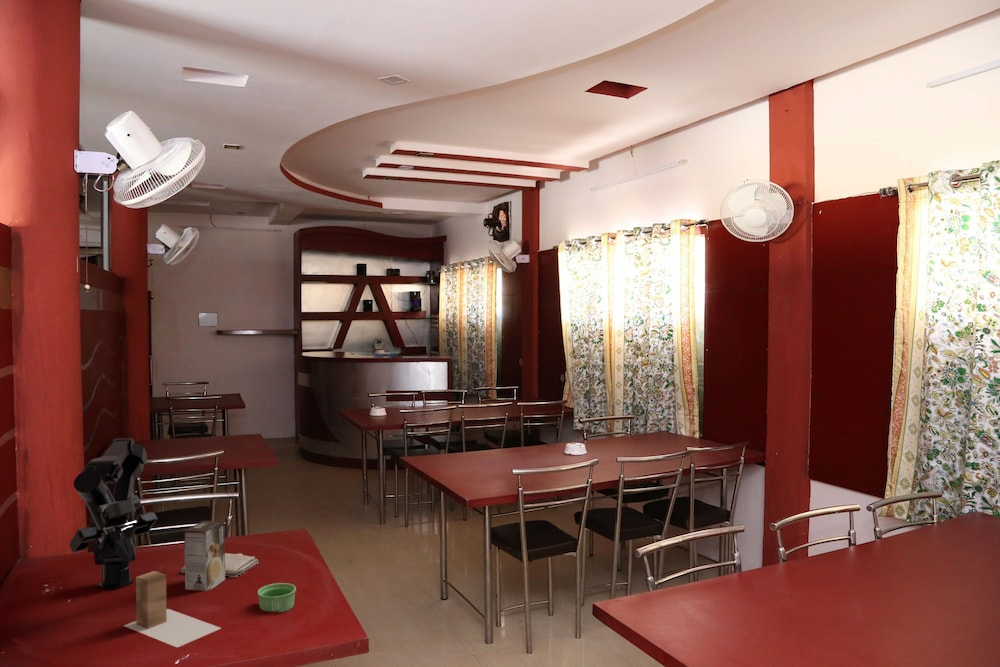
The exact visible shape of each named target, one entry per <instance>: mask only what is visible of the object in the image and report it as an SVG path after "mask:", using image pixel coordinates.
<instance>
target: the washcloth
mask: <svg viewBox="0 0 1000 667" xmlns="http://www.w3.org/2000/svg"><path fill="white" fill-rule="evenodd" d="M256 564H257V565H259V559H257V558H256V557H255V555H254V556H250V555H249V556H248V555H245V554H244V555H243V553H226V552H225V576H229V577H228V578H233V577H237V578H238V577H239V576H238V575H240V576H242V575H241V574H242V573H244V572H245V571H246V570H248V569H250V568H251V567H253V566H254V565H256ZM257 565H256V566H257ZM253 568H254V567H253ZM250 570H251V569H250ZM182 573H185V565H184V566H183V567H181V569H180V574H182ZM244 574H245V573H244Z"/></svg>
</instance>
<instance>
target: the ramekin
mask: <svg viewBox="0 0 1000 667" xmlns="http://www.w3.org/2000/svg"><path fill="white" fill-rule="evenodd" d="M296 592H297V588H296V585H295V584H292V583H289V582H288V583H286V582H277V583H271V584H268V585H265V586H264V585H263V586H262V587H261V588H259V589H258V590H257V596H258V603H259V604H258V606H259V609H260V610H261V611H263V612H278V614H281V613H284V611H285V612H287V611H290V610H291V609H292V608H293V607H294V605H295V597H296ZM280 612H281V613H280Z"/></svg>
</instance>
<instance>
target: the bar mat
mask: <svg viewBox="0 0 1000 667" xmlns="http://www.w3.org/2000/svg"><path fill="white" fill-rule="evenodd" d="M166 612H167V622H165V623H162V624H160V625H157V626H155V627H152V628H150V629H147V628H144V627H142V626H139V625H137V624H136V620H135V621H132V622H129V623H126V624H125V625H123V627H125V628H128V629H130V630H133V631H135V632H137V633H140V634H143V635H146V636H147V637H149V638H152V639H154V640H155V639H156V640H157V641H160V642H162V643H164V644H167V645H169V646H172V647H175V648H179V647H182V646H184V645H187V644H189V643H191V642H193V641H195V640H198V639H200V638H203V637H205V636H208V635H210V634H211V633H215V632H216V631H218V630H221V629H222V628H221V627H220V626H216V625H214V624H212V623H210V622H209V623H208V622H205V621H203V620H200V619H197V618H194V617H192V616H190V615H187V614H185V613H184V614H183V613H181V612H178V611H175V610H173V609H170V608H166Z"/></svg>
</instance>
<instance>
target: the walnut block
mask: <svg viewBox="0 0 1000 667" xmlns="http://www.w3.org/2000/svg"><path fill="white" fill-rule="evenodd" d="M135 593H136V595H135V596H136V597H135V600H136V602H135V603H136V604H135V605H136V606H135V607H136V608H135V612H136V614H135V615H136V617H135V618H136V620H135V621H136V624H137V625H139V626H142V627H144V628H147V629H150V628H152V627H155V626H157V625H160V624H162V623H165V622H167V612H166V609H167V574H165V573H162V572H159V571H156V570H152V571H150V572H147V573H144V574H141V575H138V576H136V577H135Z"/></svg>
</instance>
